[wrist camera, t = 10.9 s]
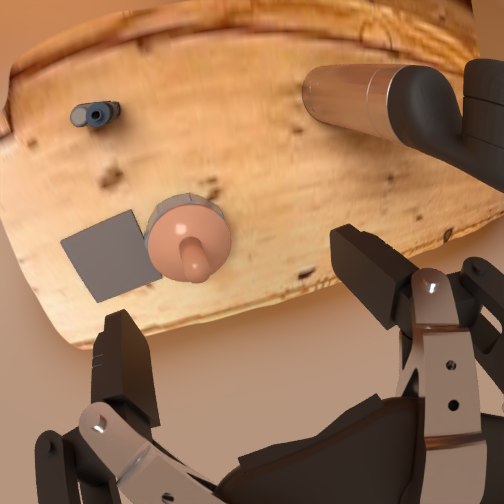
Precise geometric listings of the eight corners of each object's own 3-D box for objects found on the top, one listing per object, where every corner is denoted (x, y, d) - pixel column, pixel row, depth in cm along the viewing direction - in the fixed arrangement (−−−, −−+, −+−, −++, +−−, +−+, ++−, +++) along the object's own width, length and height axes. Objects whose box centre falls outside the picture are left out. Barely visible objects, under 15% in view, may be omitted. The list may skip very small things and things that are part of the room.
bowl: (209, 182, 39) (216, 191, 36) (229, 247, 45) (236, 260, 42) (135, 210, 37) (134, 222, 34) (163, 272, 43) (165, 287, 40)
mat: (131, 209, 37) (130, 210, 36) (162, 275, 44) (162, 278, 43) (60, 240, 35) (59, 242, 34) (97, 300, 42) (97, 303, 41)
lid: (216, 191, 36) (231, 212, 30) (237, 260, 42) (253, 290, 36) (135, 222, 34) (133, 250, 28) (166, 287, 40) (171, 321, 34)
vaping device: (122, 119, 31) (109, 128, 21) (83, 123, 29) (55, 135, 19) (122, 100, 29) (109, 99, 20) (83, 104, 28) (54, 107, 18)
